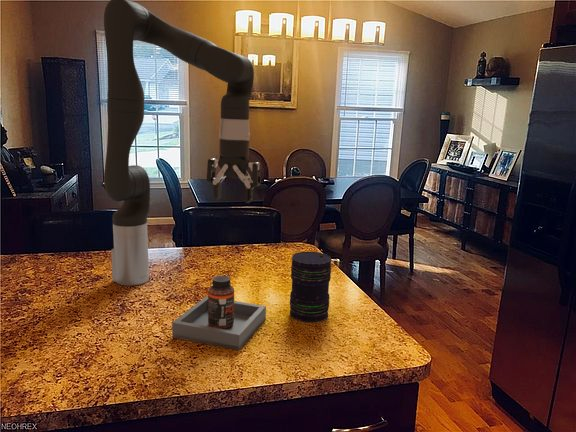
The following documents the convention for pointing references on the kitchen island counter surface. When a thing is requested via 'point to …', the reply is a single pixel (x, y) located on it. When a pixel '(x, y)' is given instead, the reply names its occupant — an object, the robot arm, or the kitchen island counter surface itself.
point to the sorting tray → (234, 337)
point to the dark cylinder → (310, 286)
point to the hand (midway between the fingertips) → (233, 200)
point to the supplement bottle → (221, 303)
